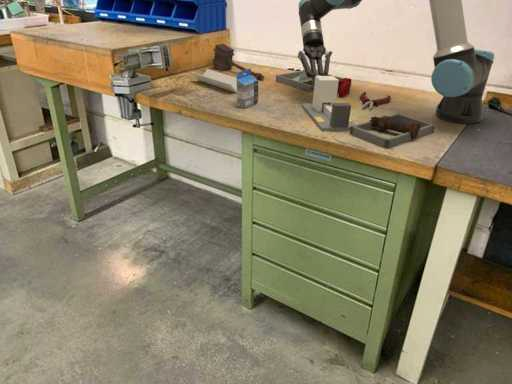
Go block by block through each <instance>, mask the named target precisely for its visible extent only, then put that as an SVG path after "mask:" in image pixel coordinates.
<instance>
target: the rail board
mask: <svg viewBox="0 0 512 384" xmlns="http://www.w3.org/2000/svg"><path fill="white" fill-rule="evenodd" d="M312 106H313V102H307V103H302V102H301V108H302V109H303V110H304V111H305V112H306V113H307V115H308V116H309V117H310V118H311V119H312V121H313V122H314V124H315V125H316V126H317V127H318V128H319V130H320V131H321V132H333V131H335V132H336V131H337V132H338V131H339V130H345V131H350V127H351V126H353V125H357V123H355V122H354V121H353V120H352V119H351V118H350V117H351V112H352V111H351V110H352V105H351V104H350V103H349V102H336V103H333V104H332V107H331V106H330V105H329V104H328V103H322V112H317V111H316V110H315V109H314V108H313V107H312ZM339 132H340V131H339Z"/></svg>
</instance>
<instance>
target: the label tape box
mask: <svg viewBox="0 0 512 384" xmlns="http://www.w3.org/2000/svg"><path fill="white" fill-rule="evenodd" d="M246 69H247V70H243V71H242V70H240V71H237V73H236V78H237V93H236V108H241V109H247V108H249V107H252V106H254V105H255V104H258V103H259V80H258V79H257V78H255V77H254V76H252V75H250V72H251V71H252V68H246ZM243 74H244V75H243Z"/></svg>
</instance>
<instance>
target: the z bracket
mask: <svg viewBox="0 0 512 384" xmlns="http://www.w3.org/2000/svg"><path fill="white" fill-rule="evenodd" d="M190 73H191V74H192V75H193V76H194V77H195V78H196V79H197V80H198V81H199V82H203V83H206V84H208V85H211V86H214V87H218V88H219V89H220V88H221V89H223V90H226V91H228V92H229V91H230V92H233V93H234V94H235V93H236V94H237V76H236V77H235V76H232V75H228V74H224V73H221V72H220V71H216V70H211V69H208V68H207V69H206V71H204V73H203V74H202V73H201V74H200V73H197V72H194V71H191V72H190Z"/></svg>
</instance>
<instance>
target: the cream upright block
mask: <svg viewBox="0 0 512 384" xmlns="http://www.w3.org/2000/svg"><path fill="white" fill-rule="evenodd" d="M334 76H335V75H333V76H315V86H314V92H313V96H312V97H313V98H312V103H313V106H312V107H313V108H314V109H315V110H316V111H317V112H322V103H328V104H329V105H330V106H331V107H332V104H333V103H337V98H338V93H337V90H338V83H339V80H338V79H337V78H335V77H334Z"/></svg>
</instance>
